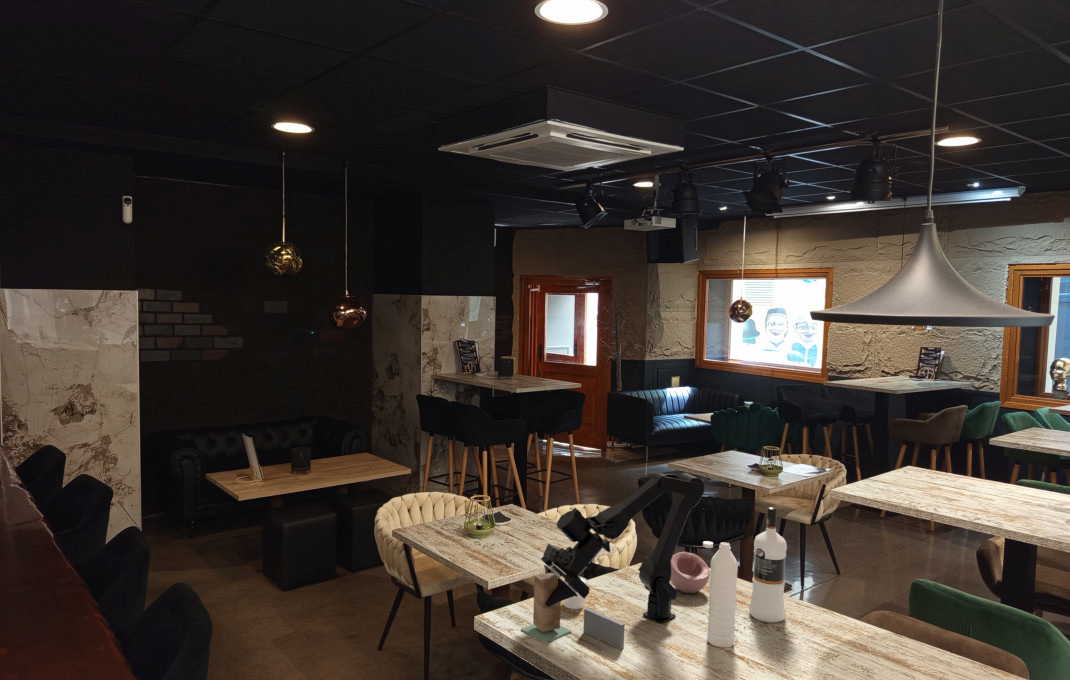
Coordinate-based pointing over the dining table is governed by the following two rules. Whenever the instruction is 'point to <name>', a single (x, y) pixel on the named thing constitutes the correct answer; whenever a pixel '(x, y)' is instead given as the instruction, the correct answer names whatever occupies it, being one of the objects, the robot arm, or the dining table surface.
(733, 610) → the water bottle
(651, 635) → the dining table surface
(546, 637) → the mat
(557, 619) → the letter block
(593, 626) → the gray rectangular block
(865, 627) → the dining table surface
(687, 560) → the pink rounded bowl
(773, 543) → the vodka
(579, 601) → the white short cylinder
